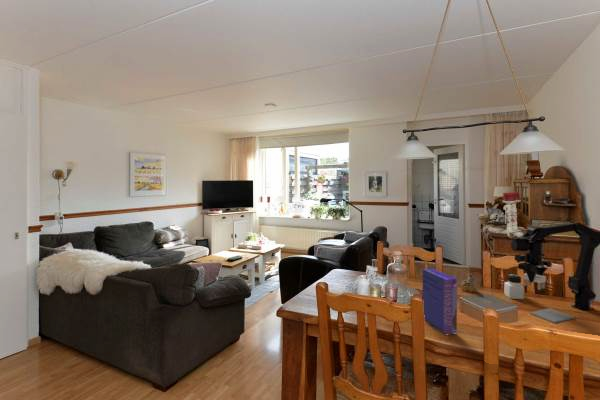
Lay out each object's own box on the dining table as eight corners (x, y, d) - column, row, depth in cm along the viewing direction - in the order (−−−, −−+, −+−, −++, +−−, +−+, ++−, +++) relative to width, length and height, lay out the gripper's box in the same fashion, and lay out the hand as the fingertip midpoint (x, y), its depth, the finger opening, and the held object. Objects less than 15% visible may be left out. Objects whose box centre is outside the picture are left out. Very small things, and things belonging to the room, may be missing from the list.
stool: (528, 283, 166) (528, 272, 165) (545, 288, 158) (546, 276, 158) (522, 285, 164) (523, 274, 163) (539, 290, 156) (540, 278, 156)
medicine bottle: (524, 299, 171) (524, 277, 170) (509, 298, 172) (510, 277, 171) (518, 294, 178) (518, 273, 177) (504, 294, 179) (504, 273, 178)
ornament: (460, 291, 186) (460, 274, 185) (463, 288, 190) (463, 271, 190) (475, 294, 180) (475, 276, 180) (477, 291, 185) (478, 274, 184)
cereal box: (456, 334, 134) (457, 278, 133) (446, 335, 133) (447, 279, 132) (431, 317, 151) (431, 267, 150) (422, 318, 150) (422, 268, 149)
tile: (549, 309, 157) (549, 308, 157) (574, 318, 147) (574, 317, 147) (529, 313, 153) (529, 312, 153) (554, 323, 143) (554, 321, 143)
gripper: (529, 246, 171) (528, 274, 172) (507, 250, 163) (506, 279, 164) (552, 250, 161) (551, 280, 162) (530, 254, 153) (529, 286, 154)
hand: (534, 281), depth 161 cm, fingers closed on stool, 5 cm apart
